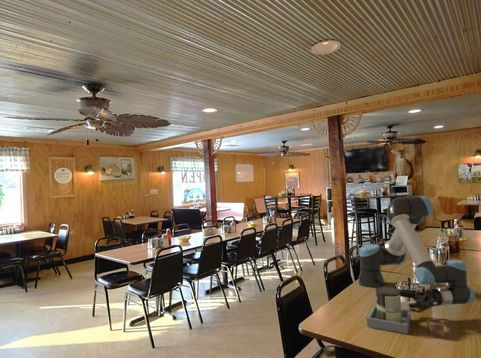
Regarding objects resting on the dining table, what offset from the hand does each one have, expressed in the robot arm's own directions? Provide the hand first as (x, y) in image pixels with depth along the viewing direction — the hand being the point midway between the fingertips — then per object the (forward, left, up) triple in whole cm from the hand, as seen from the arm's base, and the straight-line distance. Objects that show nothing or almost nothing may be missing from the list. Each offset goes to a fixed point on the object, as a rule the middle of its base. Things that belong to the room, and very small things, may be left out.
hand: (392, 300), depth 147 cm
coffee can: (-2, -1, -9) cm, 10 cm away
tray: (-2, -1, -10) cm, 10 cm away
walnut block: (+16, -4, -10) cm, 20 cm away
